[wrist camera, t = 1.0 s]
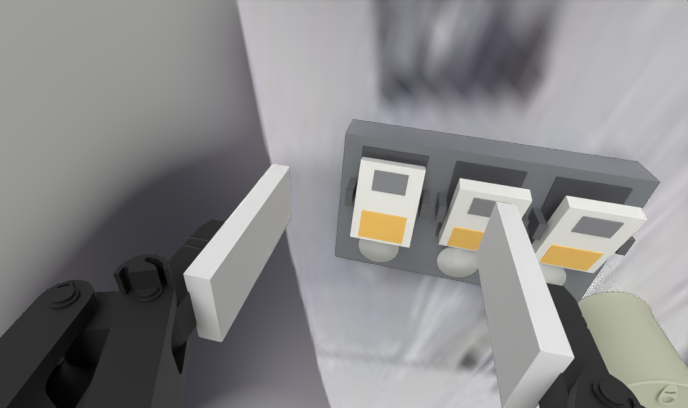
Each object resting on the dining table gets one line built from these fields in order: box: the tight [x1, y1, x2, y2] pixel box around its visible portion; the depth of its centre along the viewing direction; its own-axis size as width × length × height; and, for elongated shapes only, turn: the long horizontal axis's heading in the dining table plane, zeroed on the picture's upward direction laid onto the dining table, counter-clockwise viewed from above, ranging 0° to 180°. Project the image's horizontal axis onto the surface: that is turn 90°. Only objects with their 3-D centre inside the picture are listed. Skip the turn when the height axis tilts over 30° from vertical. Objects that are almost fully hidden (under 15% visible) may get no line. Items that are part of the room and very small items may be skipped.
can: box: [578, 292, 688, 408], centre depth 40 cm, size 9×9×12 cm
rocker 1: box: [350, 157, 426, 248], centre depth 34 cm, size 8×6×2 cm
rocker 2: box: [532, 196, 647, 273], centre depth 32 cm, size 8×6×2 cm
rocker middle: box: [439, 178, 532, 252], centre depth 33 cm, size 8×6×2 cm
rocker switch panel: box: [335, 119, 660, 303], centre depth 37 cm, size 16×28×7 cm, turn 85°
